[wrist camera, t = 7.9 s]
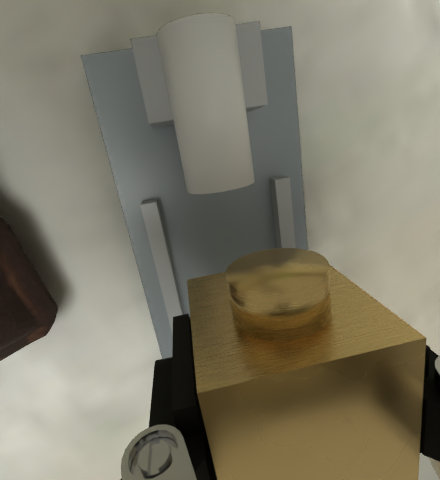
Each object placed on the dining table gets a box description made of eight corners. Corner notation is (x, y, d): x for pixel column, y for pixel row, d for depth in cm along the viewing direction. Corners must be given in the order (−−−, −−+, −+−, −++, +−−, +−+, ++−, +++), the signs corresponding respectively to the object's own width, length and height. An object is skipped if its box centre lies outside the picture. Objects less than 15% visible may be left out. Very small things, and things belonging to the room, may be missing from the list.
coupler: (179, 246, 10) (184, 337, 5) (311, 220, 10) (429, 282, 6) (216, 419, 12) (243, 592, 7) (324, 392, 13) (414, 541, 8)
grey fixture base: (89, 63, 15) (40, 15, 10) (280, 36, 16) (339, -22, 10) (178, 401, 22) (180, 489, 17) (308, 369, 23) (352, 442, 17)
